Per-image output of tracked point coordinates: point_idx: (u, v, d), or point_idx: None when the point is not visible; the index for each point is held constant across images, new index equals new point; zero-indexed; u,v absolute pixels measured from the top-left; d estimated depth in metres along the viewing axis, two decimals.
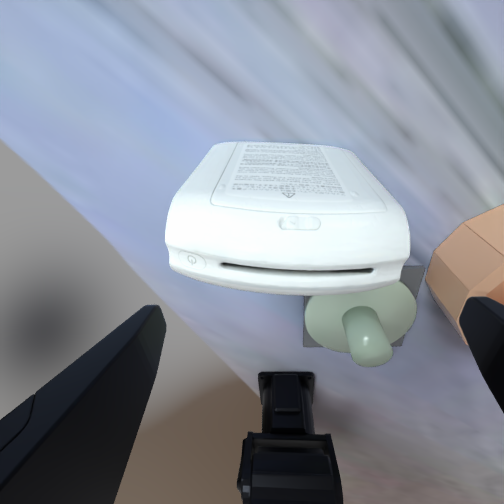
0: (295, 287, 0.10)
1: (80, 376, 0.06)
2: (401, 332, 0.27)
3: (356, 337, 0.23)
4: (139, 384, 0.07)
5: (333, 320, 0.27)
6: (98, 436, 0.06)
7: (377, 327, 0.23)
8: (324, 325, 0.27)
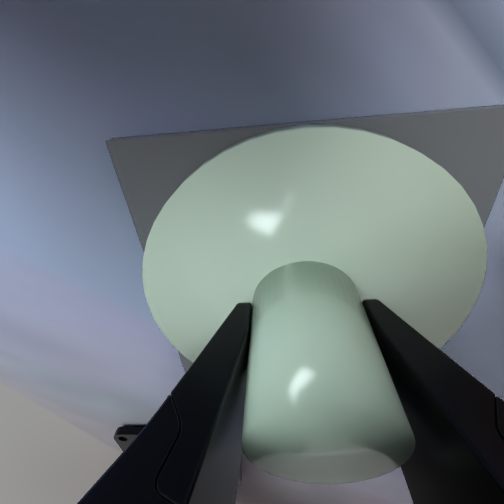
0: None
1: (210, 376, 0.06)
2: None
3: (262, 372, 0.06)
4: None
5: (230, 310, 0.09)
6: (229, 439, 0.06)
7: (347, 331, 0.06)
8: (208, 325, 0.09)
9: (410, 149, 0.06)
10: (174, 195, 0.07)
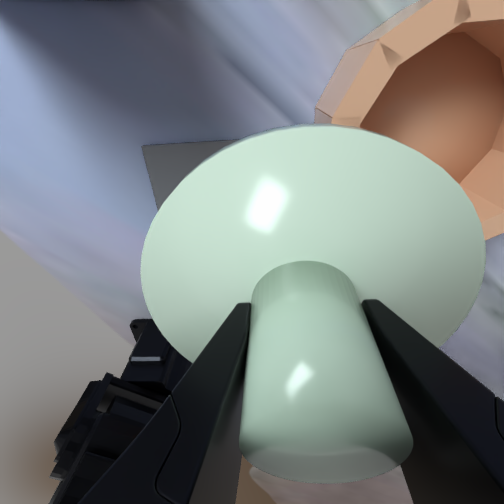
0: None
1: (210, 376, 0.06)
2: None
3: (260, 371, 0.06)
4: None
5: (228, 309, 0.09)
6: (229, 439, 0.06)
7: (345, 330, 0.06)
8: (207, 324, 0.09)
9: (408, 148, 0.06)
10: (172, 194, 0.07)
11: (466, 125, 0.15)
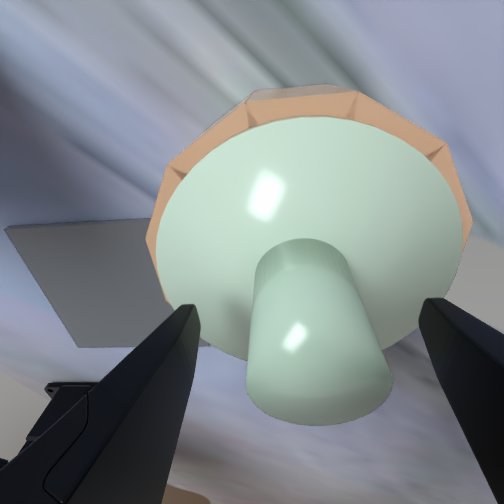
0: None
1: (131, 376, 0.06)
2: (416, 317, 0.10)
3: (264, 325, 0.07)
4: (181, 384, 0.07)
5: (234, 285, 0.10)
6: (149, 437, 0.06)
7: (337, 291, 0.07)
8: (214, 299, 0.10)
9: (391, 136, 0.07)
10: (186, 178, 0.08)
11: None
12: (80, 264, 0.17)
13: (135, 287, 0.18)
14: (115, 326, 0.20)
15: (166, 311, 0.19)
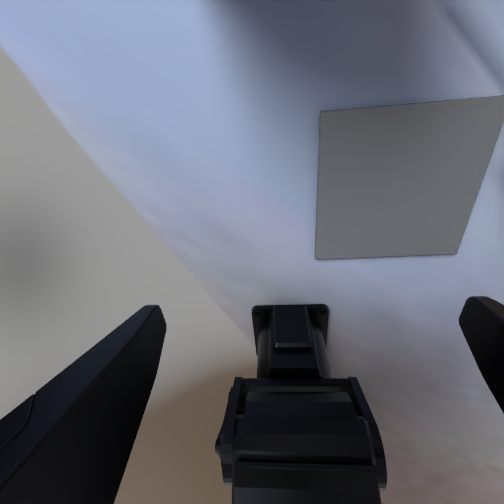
0: None
1: (80, 376, 0.06)
2: None
3: None
4: (139, 384, 0.07)
5: None
6: (98, 436, 0.06)
7: None
8: None
9: None
10: None
11: None
12: (377, 154, 0.17)
13: (419, 181, 0.18)
14: (370, 231, 0.20)
15: (435, 211, 0.19)
